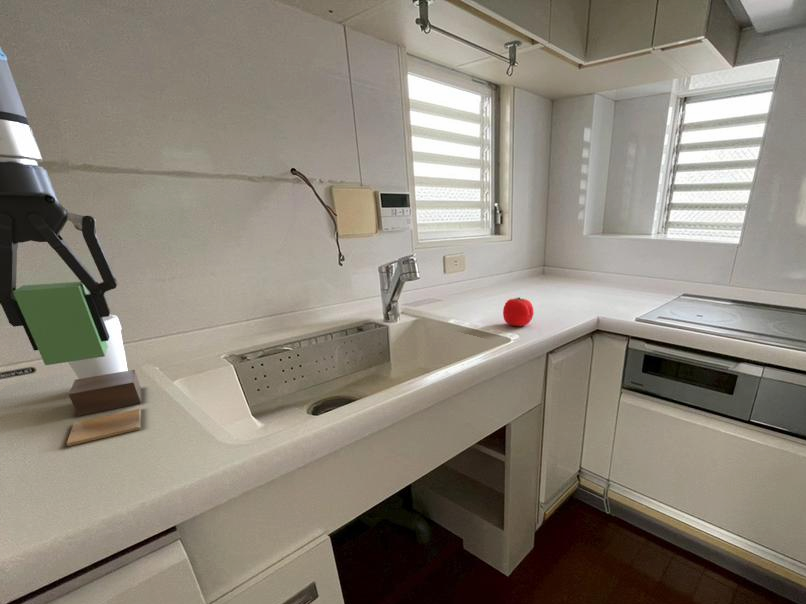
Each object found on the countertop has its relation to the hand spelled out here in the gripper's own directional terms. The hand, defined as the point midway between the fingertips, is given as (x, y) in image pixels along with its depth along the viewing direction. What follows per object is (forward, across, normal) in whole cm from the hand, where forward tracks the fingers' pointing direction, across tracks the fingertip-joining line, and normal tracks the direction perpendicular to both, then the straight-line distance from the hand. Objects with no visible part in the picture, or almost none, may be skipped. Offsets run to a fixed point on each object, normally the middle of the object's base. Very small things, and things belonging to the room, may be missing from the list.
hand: (73, 343), depth 58 cm
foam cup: (+14, -1, +22) cm, 26 cm away
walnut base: (+14, 0, +12) cm, 18 cm away
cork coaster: (+14, 0, 0) cm, 14 cm away
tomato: (+14, +93, +8) cm, 94 cm away
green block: (+2, 0, 0) cm, 2 cm away
